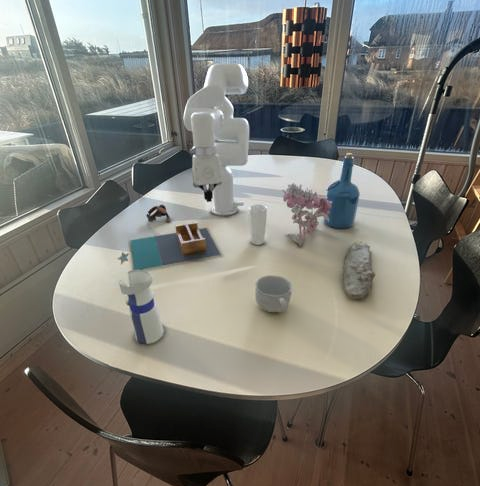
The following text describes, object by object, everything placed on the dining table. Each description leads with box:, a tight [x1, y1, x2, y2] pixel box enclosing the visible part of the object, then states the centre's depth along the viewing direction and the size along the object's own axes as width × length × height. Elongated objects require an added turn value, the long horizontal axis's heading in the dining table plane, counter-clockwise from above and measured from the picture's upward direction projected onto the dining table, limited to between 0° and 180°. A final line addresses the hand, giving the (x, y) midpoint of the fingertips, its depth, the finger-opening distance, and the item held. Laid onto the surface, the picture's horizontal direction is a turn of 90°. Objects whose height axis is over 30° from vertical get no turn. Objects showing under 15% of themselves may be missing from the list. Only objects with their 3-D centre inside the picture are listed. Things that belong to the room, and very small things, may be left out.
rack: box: [174, 221, 207, 256], centre depth 129 cm, size 9×16×6 cm, turn 18°
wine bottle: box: [323, 152, 361, 229], centre depth 136 cm, size 14×13×30 cm
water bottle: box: [117, 251, 165, 345], centre depth 83 cm, size 8×9×25 cm
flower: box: [281, 182, 332, 247], centre depth 130 cm, size 20×22×25 cm
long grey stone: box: [342, 241, 376, 300], centre depth 111 cm, size 35×5×10 cm
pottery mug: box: [145, 204, 171, 223], centre depth 149 cm, size 12×10×8 cm
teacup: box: [254, 275, 293, 313], centre depth 95 cm, size 14×11×8 cm
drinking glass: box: [248, 204, 268, 246], centre depth 127 cm, size 7×7×15 cm
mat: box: [130, 227, 221, 270], centre depth 129 cm, size 32×24×1 cm
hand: (208, 200), depth 123 cm, fingers closed
